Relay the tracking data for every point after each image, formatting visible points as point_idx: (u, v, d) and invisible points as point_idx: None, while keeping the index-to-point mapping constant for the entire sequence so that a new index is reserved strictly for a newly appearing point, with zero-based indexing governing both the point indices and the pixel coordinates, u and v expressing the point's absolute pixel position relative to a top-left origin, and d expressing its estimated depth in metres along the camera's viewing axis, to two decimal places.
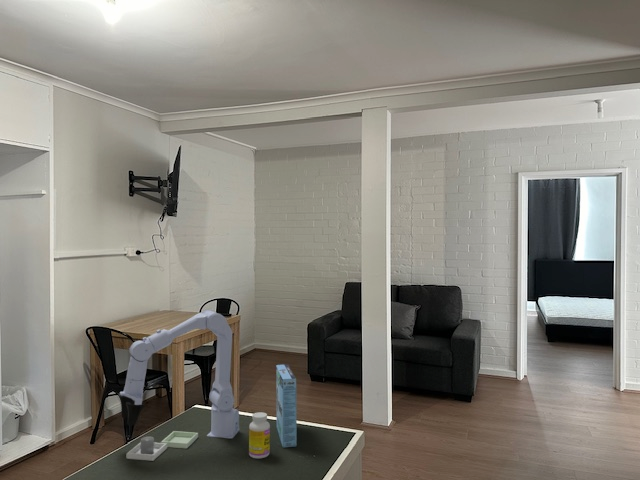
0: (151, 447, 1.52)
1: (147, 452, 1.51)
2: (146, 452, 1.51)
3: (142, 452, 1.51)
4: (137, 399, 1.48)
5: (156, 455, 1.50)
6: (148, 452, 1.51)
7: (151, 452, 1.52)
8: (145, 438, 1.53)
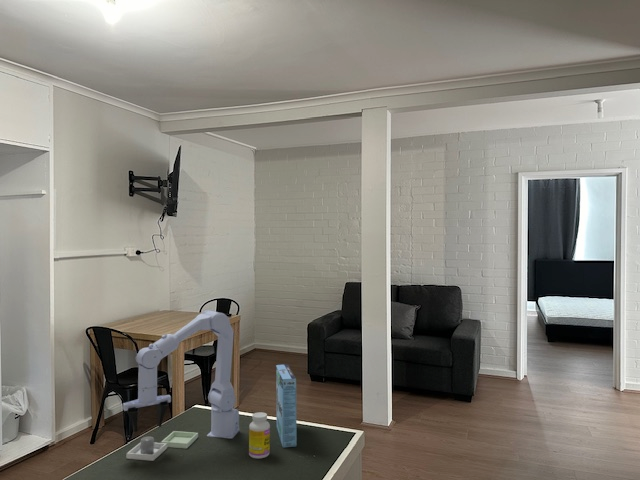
0: (151, 447, 1.52)
1: (147, 452, 1.51)
2: (146, 452, 1.51)
3: (142, 452, 1.51)
4: None
5: (156, 455, 1.50)
6: (148, 452, 1.51)
7: (151, 452, 1.52)
8: (145, 438, 1.53)
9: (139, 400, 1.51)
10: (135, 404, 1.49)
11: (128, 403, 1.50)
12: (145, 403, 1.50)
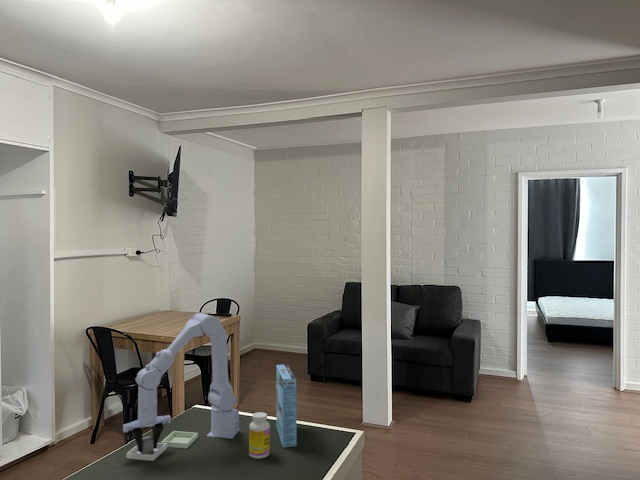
0: (151, 447, 1.52)
1: (147, 452, 1.51)
2: (146, 452, 1.51)
3: (142, 452, 1.51)
4: (170, 417, 1.57)
5: (156, 455, 1.50)
6: (148, 452, 1.51)
7: (151, 452, 1.52)
8: (145, 438, 1.53)
9: (139, 421, 1.51)
10: (135, 425, 1.49)
11: (128, 424, 1.50)
12: (145, 424, 1.50)
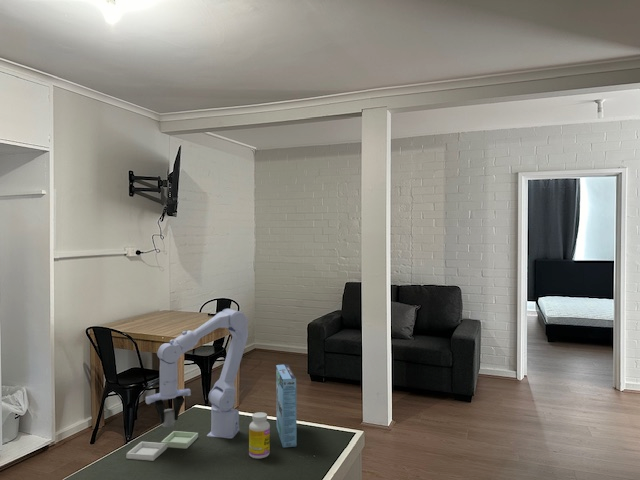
0: (172, 419, 1.58)
1: (169, 423, 1.57)
2: (168, 423, 1.57)
3: (164, 423, 1.57)
4: (190, 390, 1.62)
5: (156, 455, 1.50)
6: (170, 423, 1.57)
7: (172, 423, 1.58)
8: (166, 410, 1.59)
9: (161, 394, 1.56)
10: (157, 397, 1.55)
11: (150, 397, 1.55)
12: (167, 396, 1.56)
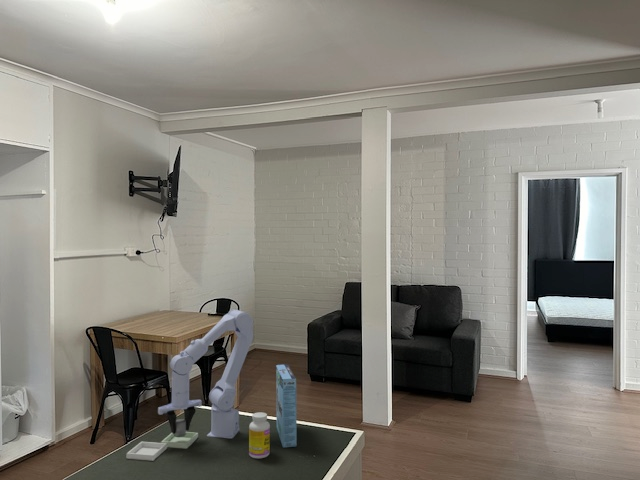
0: (184, 429, 1.61)
1: (180, 433, 1.60)
2: (179, 433, 1.60)
3: (175, 433, 1.60)
4: (201, 401, 1.66)
5: (156, 455, 1.50)
6: (181, 433, 1.60)
7: (184, 434, 1.61)
8: (178, 420, 1.62)
9: (173, 404, 1.60)
10: (169, 408, 1.58)
11: (163, 407, 1.58)
12: (179, 407, 1.59)
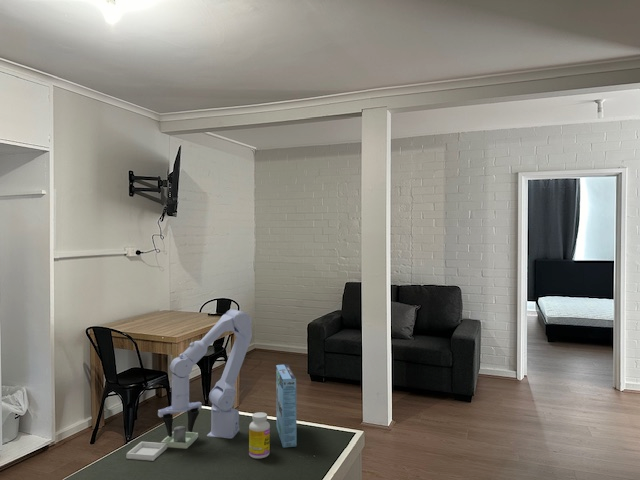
0: (183, 436, 1.61)
1: (180, 441, 1.60)
2: (179, 441, 1.60)
3: (175, 441, 1.60)
4: None
5: (156, 455, 1.50)
6: (181, 441, 1.60)
7: (183, 441, 1.61)
8: (178, 427, 1.62)
9: (173, 407, 1.60)
10: (169, 411, 1.58)
11: (163, 410, 1.58)
12: (179, 410, 1.59)
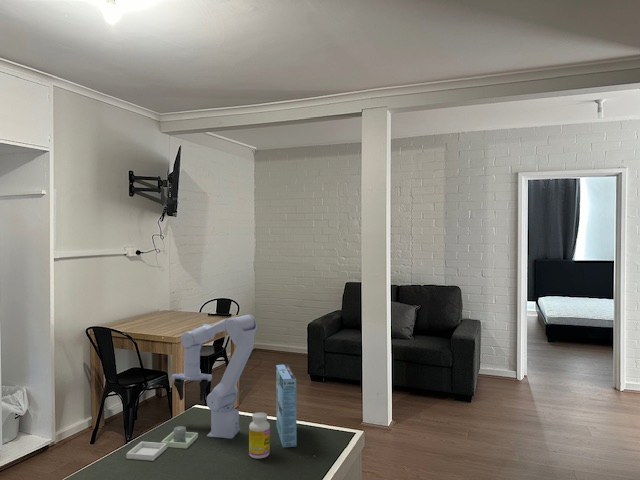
0: (183, 436, 1.61)
1: (180, 441, 1.60)
2: (179, 441, 1.60)
3: (175, 441, 1.60)
4: (210, 376, 1.78)
5: (156, 455, 1.50)
6: (181, 441, 1.60)
7: (183, 441, 1.61)
8: (178, 427, 1.62)
9: (184, 374, 1.78)
10: (179, 376, 1.77)
11: (176, 374, 1.78)
12: (185, 377, 1.76)
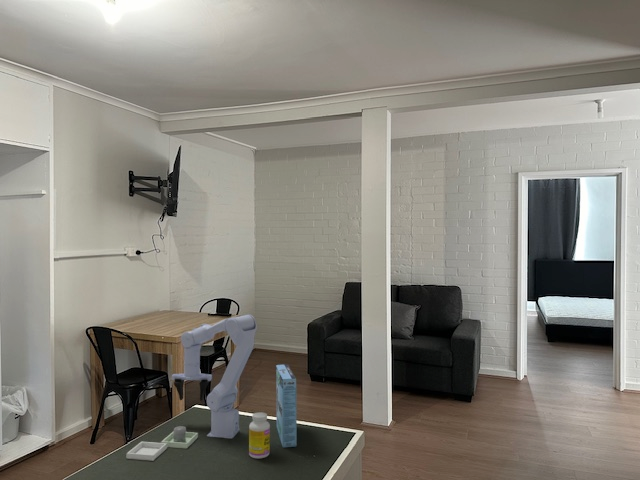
0: (183, 436, 1.61)
1: (180, 441, 1.60)
2: (179, 441, 1.60)
3: (175, 441, 1.60)
4: (210, 376, 1.78)
5: (156, 455, 1.50)
6: (181, 441, 1.60)
7: (183, 441, 1.61)
8: (178, 427, 1.62)
9: (184, 374, 1.78)
10: (179, 376, 1.77)
11: (176, 374, 1.78)
12: (185, 377, 1.76)
